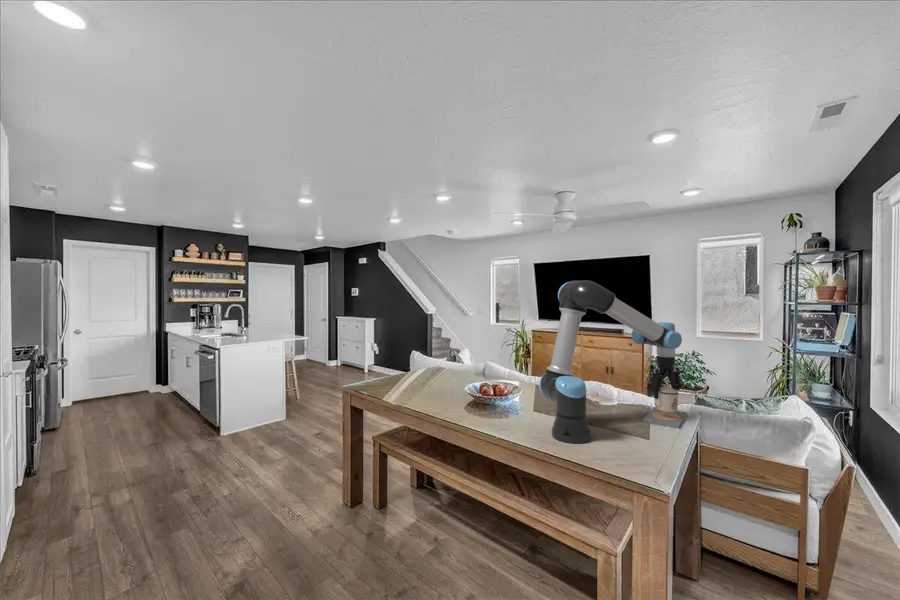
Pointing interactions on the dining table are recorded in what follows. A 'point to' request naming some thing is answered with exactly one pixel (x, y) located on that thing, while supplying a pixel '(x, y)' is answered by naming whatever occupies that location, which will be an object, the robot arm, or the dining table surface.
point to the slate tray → (665, 418)
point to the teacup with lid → (668, 399)
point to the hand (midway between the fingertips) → (665, 404)
